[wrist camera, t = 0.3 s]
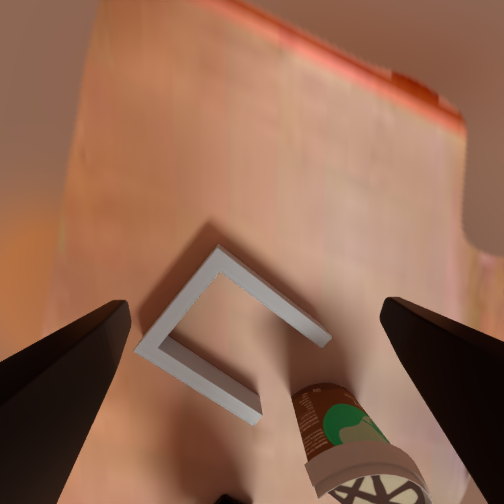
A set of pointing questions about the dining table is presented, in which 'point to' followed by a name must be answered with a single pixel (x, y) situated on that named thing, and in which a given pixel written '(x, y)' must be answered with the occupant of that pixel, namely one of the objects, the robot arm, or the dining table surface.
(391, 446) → the food container
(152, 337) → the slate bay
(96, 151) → the dining table surface
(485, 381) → the robot arm
